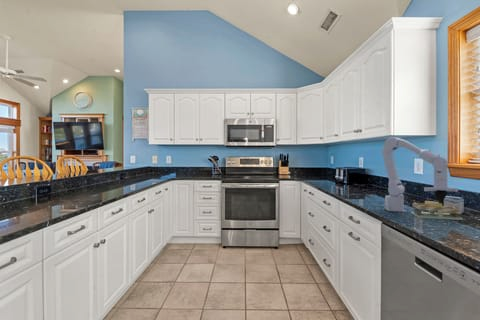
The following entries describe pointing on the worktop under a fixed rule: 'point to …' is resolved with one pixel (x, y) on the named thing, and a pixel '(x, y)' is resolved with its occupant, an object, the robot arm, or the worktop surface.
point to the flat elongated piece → (444, 208)
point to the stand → (436, 215)
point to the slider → (433, 204)
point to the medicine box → (454, 202)
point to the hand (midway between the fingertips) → (440, 204)
